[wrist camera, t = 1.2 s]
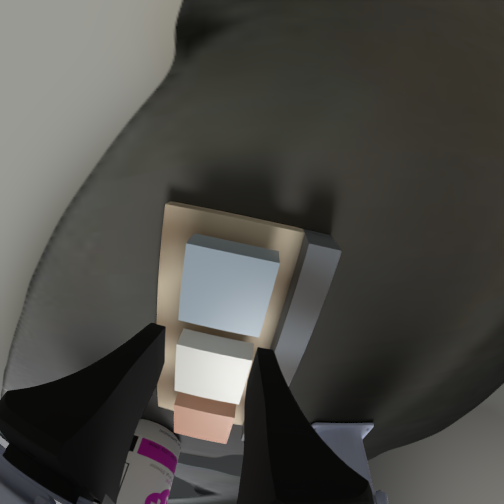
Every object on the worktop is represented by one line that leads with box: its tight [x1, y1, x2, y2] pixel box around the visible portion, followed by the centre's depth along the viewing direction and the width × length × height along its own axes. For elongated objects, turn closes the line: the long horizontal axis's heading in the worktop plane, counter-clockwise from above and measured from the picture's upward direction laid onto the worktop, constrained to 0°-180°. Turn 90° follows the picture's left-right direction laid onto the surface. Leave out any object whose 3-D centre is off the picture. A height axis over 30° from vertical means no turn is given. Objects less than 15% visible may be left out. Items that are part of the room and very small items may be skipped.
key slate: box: [178, 233, 280, 338], centre depth 16 cm, size 5×5×2 cm
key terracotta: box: [174, 391, 236, 444], centre depth 21 cm, size 5×5×2 cm
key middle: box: [174, 328, 254, 405], centre depth 19 cm, size 5×5×2 cm
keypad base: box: [157, 201, 342, 441], centre depth 20 cm, size 21×11×3 cm, turn 168°
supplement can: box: [93, 419, 181, 504], centre depth 22 cm, size 8×8×15 cm
